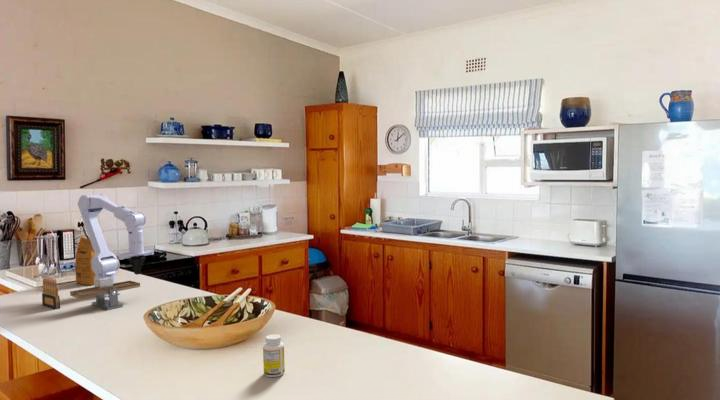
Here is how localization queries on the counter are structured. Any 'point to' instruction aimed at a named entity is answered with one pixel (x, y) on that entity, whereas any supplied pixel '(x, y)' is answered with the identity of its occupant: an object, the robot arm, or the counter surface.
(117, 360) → the counter surface
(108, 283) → the block
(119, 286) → the wooden tray
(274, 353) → the supplement bottle
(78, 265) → the coffee package
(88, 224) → the robot arm
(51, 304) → the ammunition clip
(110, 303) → the stand
